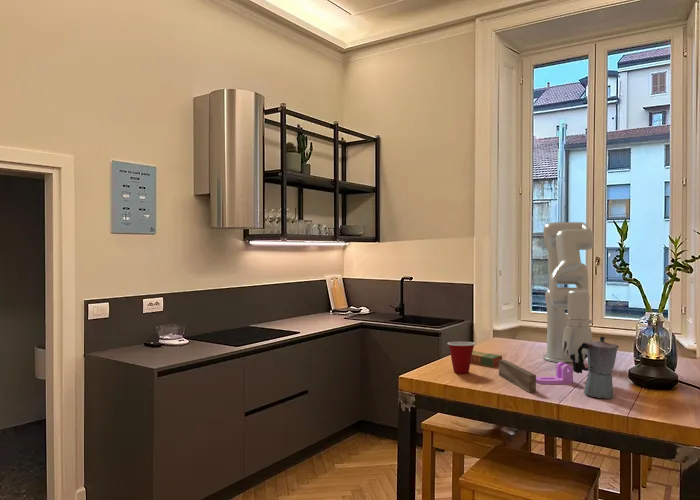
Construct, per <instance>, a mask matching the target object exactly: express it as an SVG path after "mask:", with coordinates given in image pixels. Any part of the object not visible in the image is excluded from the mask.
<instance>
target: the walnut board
mask: <svg viewBox="0 0 700 500" xmlns="http://www.w3.org/2000/svg"><path fill="white" fill-rule="evenodd" d="M498 376H499V377H501V378H502V379H505V380H506V381H508V382H510V383H511V384H513V385H515V386H517V387H518V388H520V389H521V390H524V391H525V392H527V393H529V394H533V393H537V383H536V377H537V375H536V374H534V373H533V372H531V371H530V370H529V371H528V370H527V369H525V368H522V367H521V366H519V365H517V364H514V363H513V362H511V361H509V360H508V359H502V360H499V365H498Z"/></svg>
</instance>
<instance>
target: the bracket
mask: <svg viewBox="0 0 700 500" xmlns="http://www.w3.org/2000/svg"><path fill="white" fill-rule="evenodd" d="M555 366H556V367H555V376H536V384H540V385H568V384H569V385H571V384H574V371H573V365H570V364H567V362H556V365H555Z"/></svg>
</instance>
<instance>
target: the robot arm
mask: <svg viewBox="0 0 700 500" xmlns="http://www.w3.org/2000/svg"><path fill="white" fill-rule="evenodd" d="M542 231H543V241H544V243H545V246H546V249H547V253H548V259H547V260H548V265H547V266H548V289H547V290H546V291H545V293H544V294H545V296H544V300H545V306H546V316H547V317H546V320H547V321H546V324H547V325H546V327H547V328H546V331H547V332H546V354H543V356H542V359H544V360H545V361H549V362H554V363H558V362H564V363H572V368H573V373H576V374H582V373H583V370H582V367H581V363H580V358H579V354H578V349H579V347H580V346H581V345H582V344H583V343H589V342H594V341H593V333H592V329H591V326H590V324H592V323H593V322H592V319H590V297H591V295H590V293H589V271H588V268H587V266H586V264H585V263H583V262H582V260H581V253H580V251H590V250H591V249H593V248H594V245H595V236H594V233H593V231H592V230H591V228H590V226H588V224H587V223H585V222H581V221H580V222H579V221H575V222H574V221H569V222H567V221H562V222H561V221H560V222H559V221H557V222H556V221H554V222H550V223H546V224H545V225H544V227H543V230H542ZM557 285H575V287H565V286H563V287H562V286H561V287H560V286H559V287H558V286H557ZM565 310H567V313H566V311H565ZM582 354H583V362H585V360H586V359H588V356H587V349H585V348H583V349H582Z"/></svg>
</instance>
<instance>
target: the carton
mask: <svg viewBox="0 0 700 500" xmlns="http://www.w3.org/2000/svg"><path fill="white" fill-rule="evenodd" d="M499 360H503V355H500V354H496V353H495V354H494V353H487V352H483V351H477V350H473V352H472V358H471V364H470V365H473V364H474V365H478V366H483V367H489V368H495V367H499Z"/></svg>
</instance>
